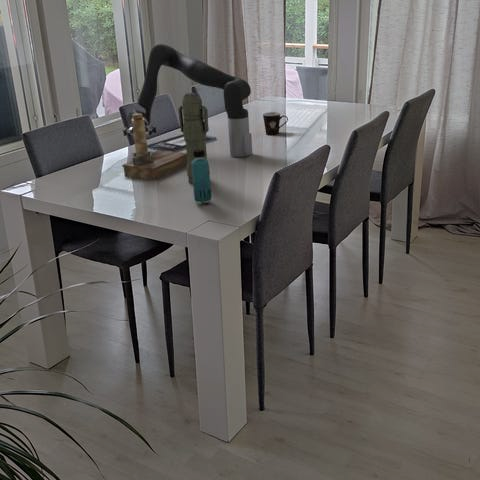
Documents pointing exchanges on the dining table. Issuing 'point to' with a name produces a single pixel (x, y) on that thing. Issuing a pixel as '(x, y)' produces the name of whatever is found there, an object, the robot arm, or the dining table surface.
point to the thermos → (193, 127)
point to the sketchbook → (174, 144)
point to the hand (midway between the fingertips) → (139, 133)
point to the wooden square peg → (139, 135)
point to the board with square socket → (155, 164)
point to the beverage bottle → (201, 177)
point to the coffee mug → (272, 122)
